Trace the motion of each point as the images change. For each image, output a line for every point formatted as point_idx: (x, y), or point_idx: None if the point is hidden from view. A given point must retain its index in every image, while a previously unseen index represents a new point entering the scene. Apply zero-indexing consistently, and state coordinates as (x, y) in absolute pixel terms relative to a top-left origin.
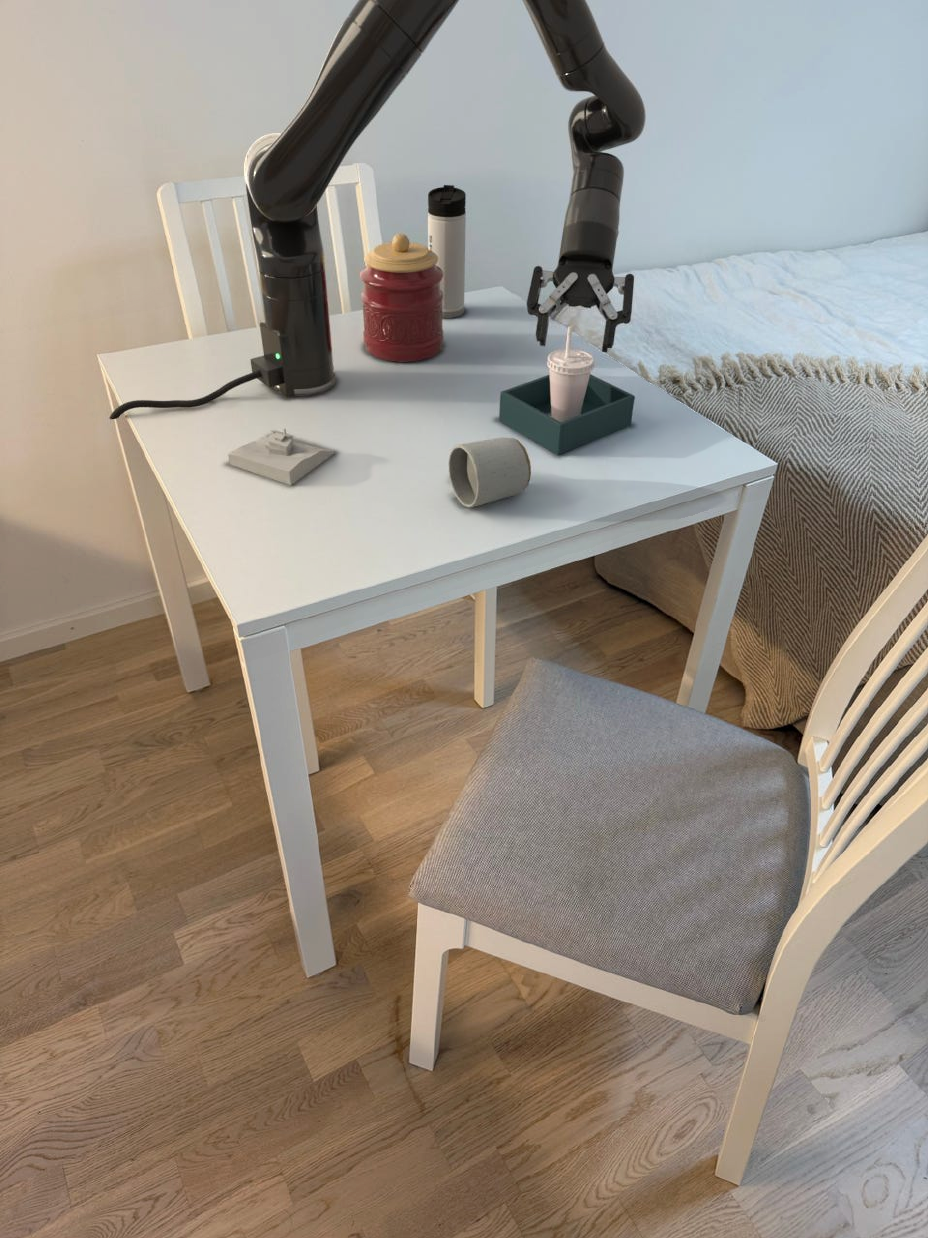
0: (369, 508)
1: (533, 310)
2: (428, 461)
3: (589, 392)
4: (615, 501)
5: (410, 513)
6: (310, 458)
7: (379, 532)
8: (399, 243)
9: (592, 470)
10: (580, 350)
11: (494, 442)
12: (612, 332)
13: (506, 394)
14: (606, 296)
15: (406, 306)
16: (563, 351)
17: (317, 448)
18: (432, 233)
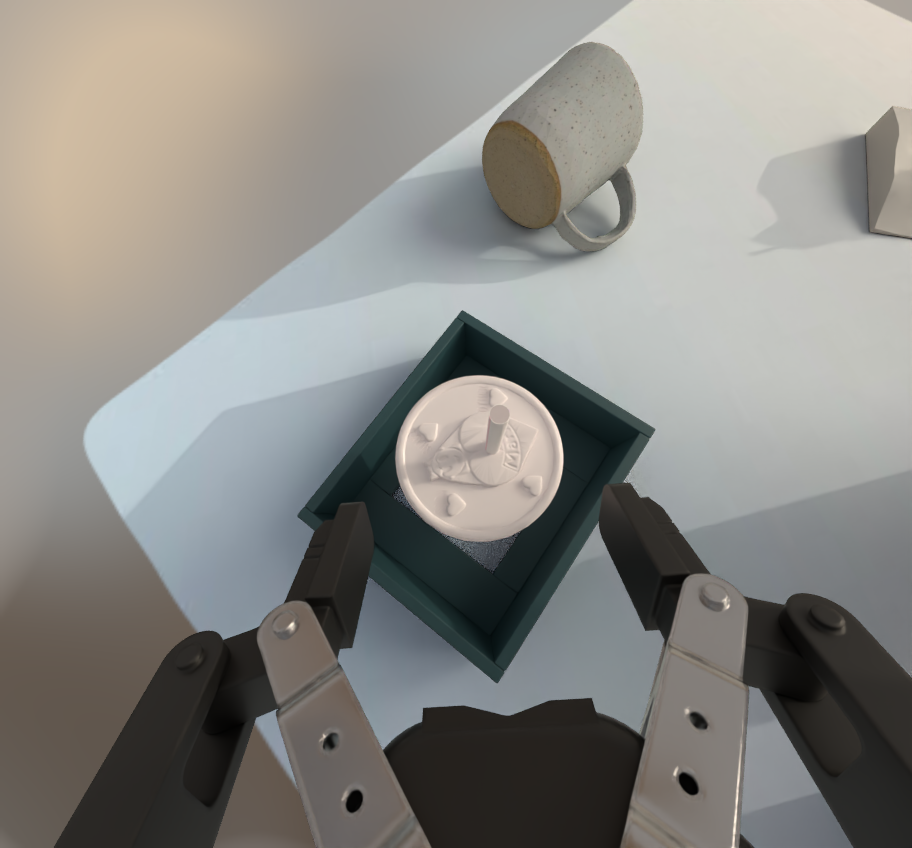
0: (709, 121)
1: (766, 603)
2: (689, 258)
3: (435, 599)
4: (345, 241)
5: (644, 128)
6: (891, 155)
7: (663, 82)
8: None
9: (392, 317)
10: (457, 531)
11: (564, 92)
12: (312, 559)
13: (633, 417)
14: (296, 733)
15: None
16: (518, 508)
17: (909, 221)
18: None
